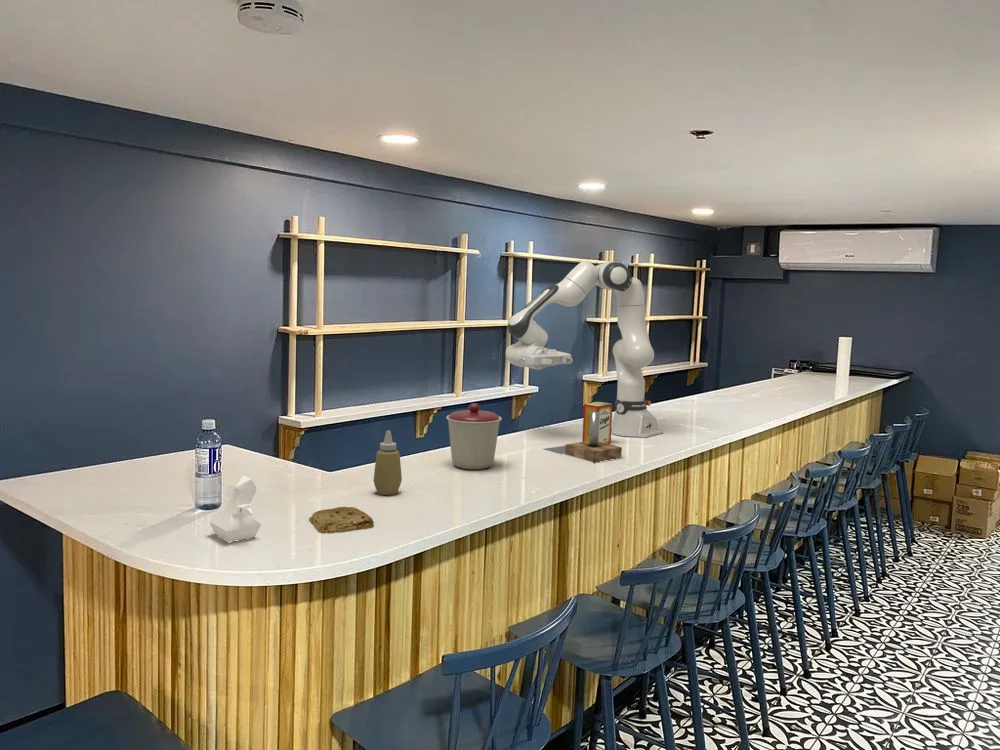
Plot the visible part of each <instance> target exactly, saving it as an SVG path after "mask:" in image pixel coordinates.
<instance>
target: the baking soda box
mask: <svg viewBox="0 0 1000 750" xmlns="http://www.w3.org/2000/svg"><path fill="white" fill-rule="evenodd" d="M590 412H599V413H600V414H599V437H598V442H602V443H606V444H610V443H612V433H611V431H612V430H611V428H612V427H613V423H612V422H613V421H612V420H613V403H608V402H603V401H594V402H589V403H584V404H583V419H582V420H583V421H582V441H581V442H586V441H589V434H590ZM610 445H611V444H610Z"/></svg>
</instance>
